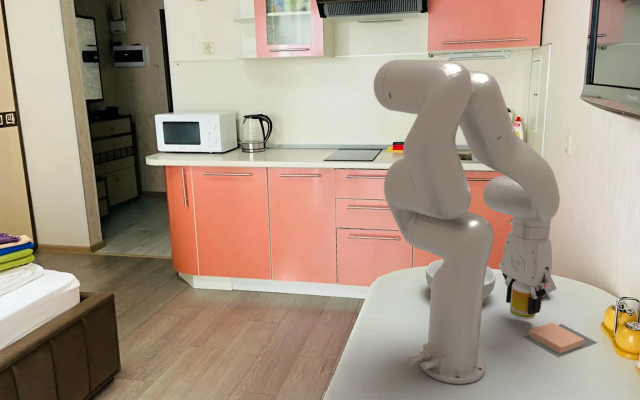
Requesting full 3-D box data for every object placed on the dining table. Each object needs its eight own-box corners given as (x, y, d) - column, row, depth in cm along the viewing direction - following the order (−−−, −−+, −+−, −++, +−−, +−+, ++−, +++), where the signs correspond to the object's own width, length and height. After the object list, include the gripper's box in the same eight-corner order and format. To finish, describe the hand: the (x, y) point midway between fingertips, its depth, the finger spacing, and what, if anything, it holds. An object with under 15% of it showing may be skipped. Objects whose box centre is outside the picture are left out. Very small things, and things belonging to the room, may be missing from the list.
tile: (583, 345, 110) (560, 354, 107) (551, 328, 117) (528, 336, 114) (584, 339, 110) (560, 347, 107) (552, 322, 117) (529, 329, 114)
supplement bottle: (537, 321, 115) (541, 280, 113) (511, 319, 116) (515, 278, 114) (532, 309, 120) (537, 270, 118) (508, 307, 121) (511, 268, 119)
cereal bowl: (411, 289, 138) (413, 263, 136) (464, 278, 144) (465, 254, 142) (452, 318, 123) (453, 290, 121) (508, 304, 129) (510, 278, 127)
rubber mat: (557, 359, 106) (558, 357, 106) (522, 338, 114) (522, 336, 114) (597, 344, 112) (597, 342, 111) (561, 325, 119) (561, 323, 119)
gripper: (488, 221, 119) (482, 295, 124) (551, 245, 104) (542, 328, 109) (512, 216, 122) (505, 288, 127) (577, 239, 107) (567, 319, 112)
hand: (522, 306), depth 118 cm, fingers closed on supplement bottle, 5 cm apart
